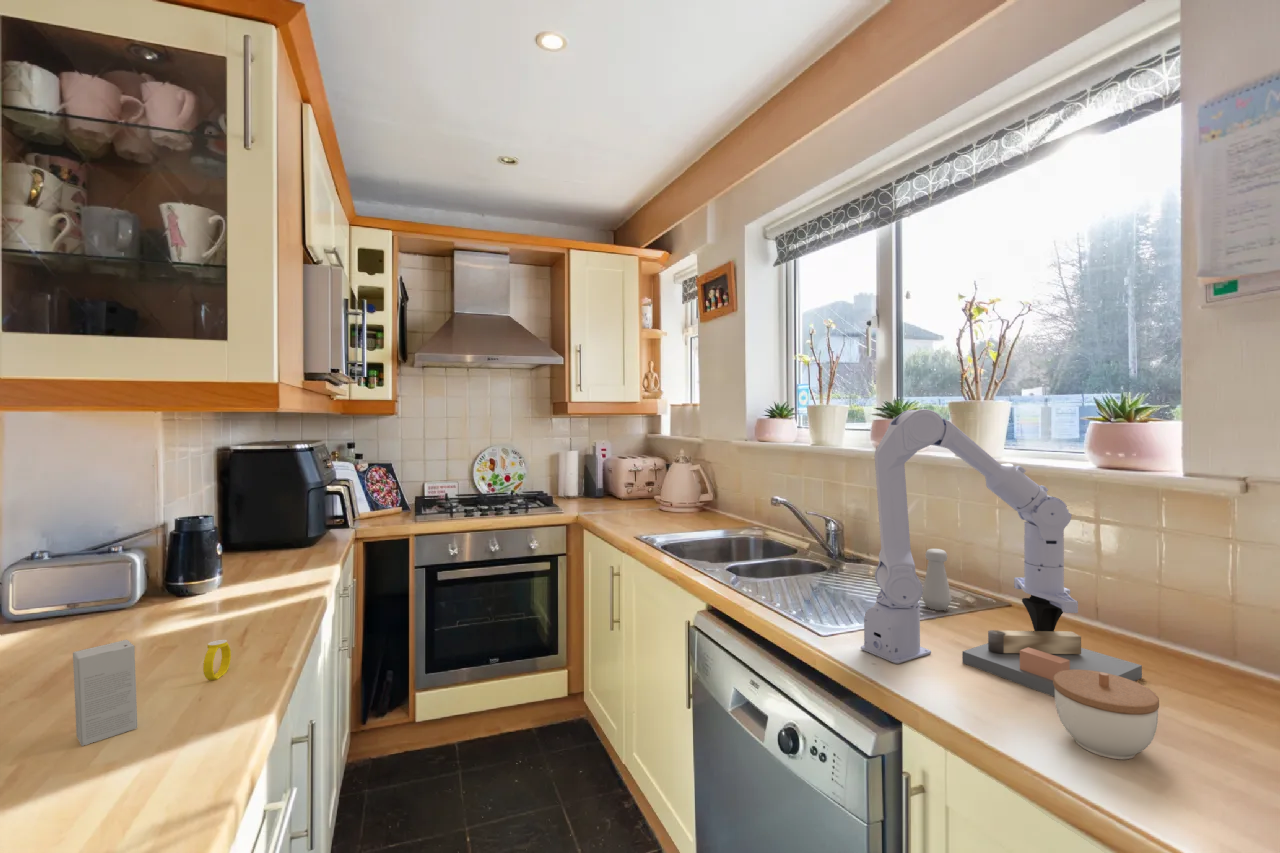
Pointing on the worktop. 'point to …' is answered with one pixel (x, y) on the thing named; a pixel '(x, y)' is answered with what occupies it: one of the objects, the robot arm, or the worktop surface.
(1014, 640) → the stool leg
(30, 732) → the worktop surface
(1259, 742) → the worktop surface
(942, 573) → the salt shaker
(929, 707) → the worktop surface
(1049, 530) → the robot arm
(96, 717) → the skincare box
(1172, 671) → the worktop surface
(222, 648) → the watch
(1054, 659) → the stool seat
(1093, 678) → the lidded jar
